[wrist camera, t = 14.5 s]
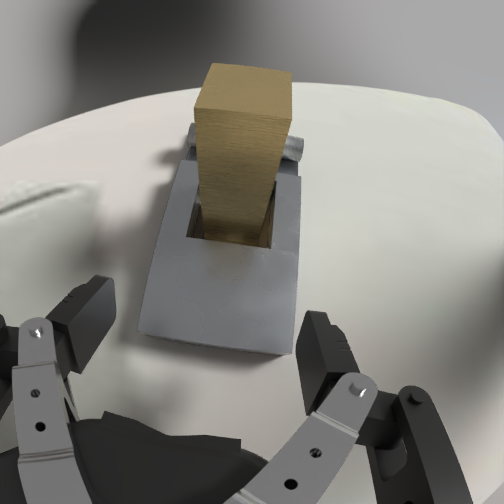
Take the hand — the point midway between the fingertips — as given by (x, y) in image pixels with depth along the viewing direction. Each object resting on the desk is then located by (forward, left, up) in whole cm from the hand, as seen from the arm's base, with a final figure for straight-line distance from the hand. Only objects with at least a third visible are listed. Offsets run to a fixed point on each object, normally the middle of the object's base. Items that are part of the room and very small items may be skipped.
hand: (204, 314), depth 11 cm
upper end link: (0, -5, -7) cm, 9 cm away
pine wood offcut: (0, -8, -7) cm, 11 cm away
